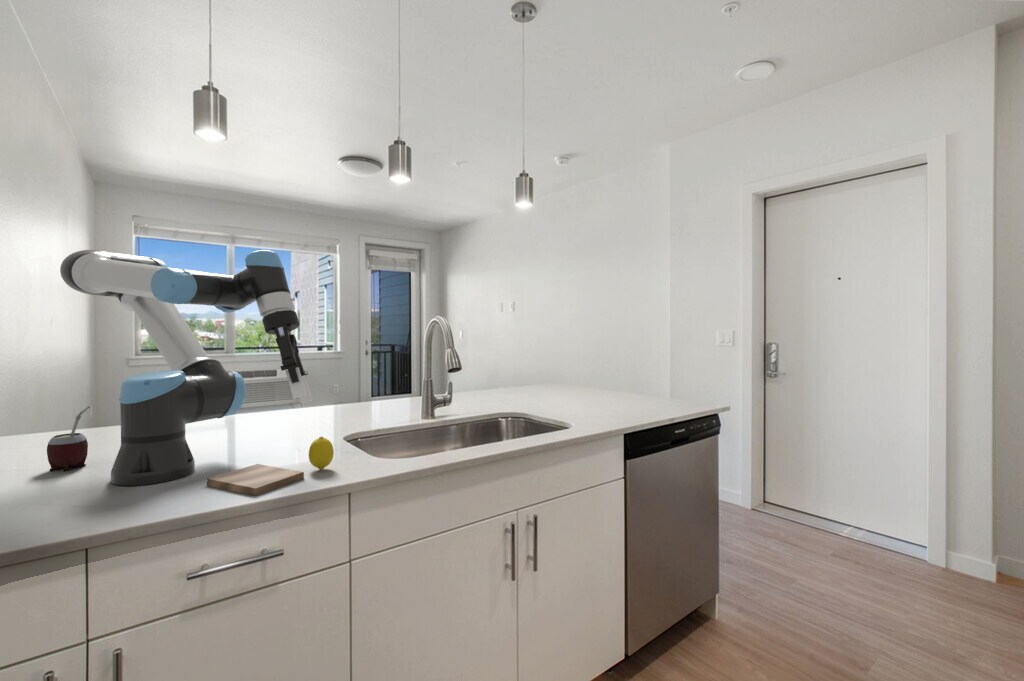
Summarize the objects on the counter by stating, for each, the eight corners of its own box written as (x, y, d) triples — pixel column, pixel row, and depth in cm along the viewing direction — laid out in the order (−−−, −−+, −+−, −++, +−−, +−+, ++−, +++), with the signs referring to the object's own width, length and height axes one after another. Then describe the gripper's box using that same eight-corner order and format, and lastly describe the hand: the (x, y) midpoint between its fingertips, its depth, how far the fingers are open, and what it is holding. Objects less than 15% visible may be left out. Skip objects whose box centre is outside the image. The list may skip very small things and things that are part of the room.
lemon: (324, 474, 108) (324, 439, 107) (303, 472, 109) (303, 438, 108) (338, 467, 113) (338, 434, 113) (318, 465, 114) (317, 433, 114)
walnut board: (206, 485, 99) (206, 478, 99) (257, 470, 110) (257, 463, 110) (255, 495, 93) (255, 488, 93) (303, 478, 104) (303, 471, 104)
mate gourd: (50, 467, 111) (49, 405, 111) (94, 462, 116) (93, 402, 116) (44, 475, 106) (43, 409, 105) (90, 469, 110) (89, 406, 110)
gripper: (288, 295, 100) (315, 389, 98) (301, 322, 123) (324, 399, 121) (250, 303, 97) (277, 400, 95) (271, 330, 120) (293, 408, 118)
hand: (303, 399), depth 108 cm, fingers open, 13 cm apart
